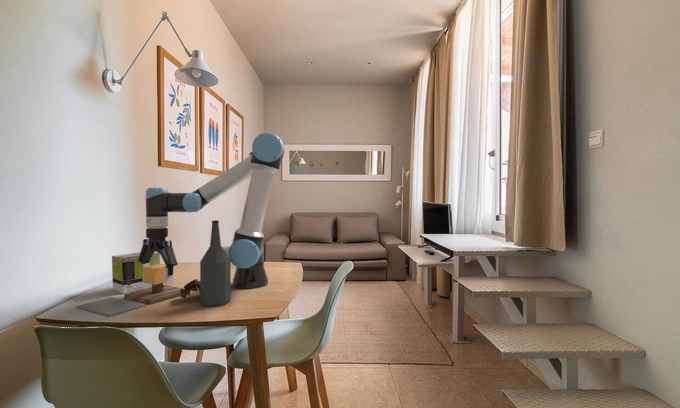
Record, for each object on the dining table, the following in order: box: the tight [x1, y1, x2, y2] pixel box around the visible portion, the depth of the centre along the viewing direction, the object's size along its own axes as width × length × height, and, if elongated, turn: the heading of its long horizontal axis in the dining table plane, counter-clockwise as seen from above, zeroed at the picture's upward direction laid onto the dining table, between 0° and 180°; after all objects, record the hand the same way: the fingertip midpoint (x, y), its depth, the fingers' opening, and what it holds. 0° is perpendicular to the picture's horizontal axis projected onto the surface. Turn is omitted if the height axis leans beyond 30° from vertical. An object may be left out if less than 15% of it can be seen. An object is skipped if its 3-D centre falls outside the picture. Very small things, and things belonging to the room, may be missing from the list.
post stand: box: [123, 283, 184, 305], centre depth 132 cm, size 16×16×10 cm
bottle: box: [199, 219, 232, 308], centre depth 123 cm, size 10×10×30 cm
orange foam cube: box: [143, 263, 166, 285], centre depth 132 cm, size 7×7×6 cm
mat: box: [75, 296, 147, 317], centre depth 118 cm, size 20×12×1 cm, turn 63°
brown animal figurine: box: [180, 278, 200, 299], centre depth 129 cm, size 12×10×8 cm
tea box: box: [111, 251, 161, 294], centre depth 142 cm, size 15×10×15 cm
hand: (157, 282), depth 132 cm, fingers open, 13 cm apart
